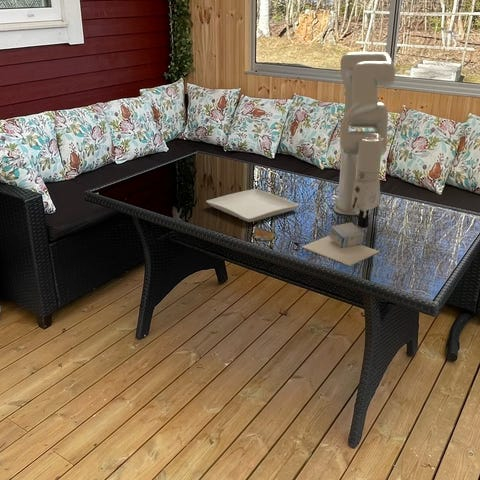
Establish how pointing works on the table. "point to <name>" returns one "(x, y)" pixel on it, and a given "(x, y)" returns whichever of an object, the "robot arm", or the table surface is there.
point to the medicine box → (346, 235)
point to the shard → (263, 234)
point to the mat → (340, 251)
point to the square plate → (252, 204)
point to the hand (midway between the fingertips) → (362, 226)
